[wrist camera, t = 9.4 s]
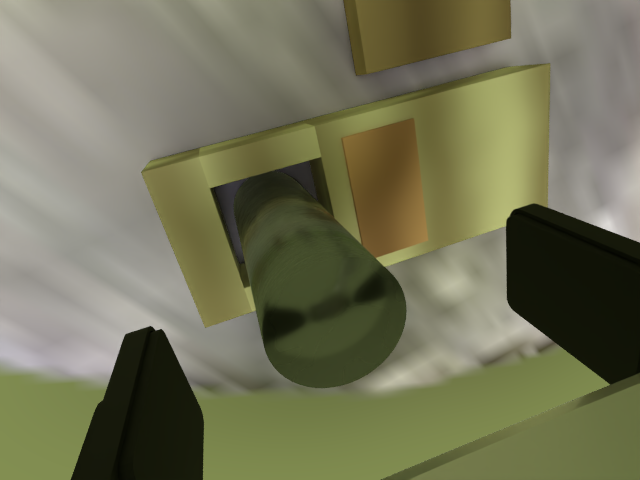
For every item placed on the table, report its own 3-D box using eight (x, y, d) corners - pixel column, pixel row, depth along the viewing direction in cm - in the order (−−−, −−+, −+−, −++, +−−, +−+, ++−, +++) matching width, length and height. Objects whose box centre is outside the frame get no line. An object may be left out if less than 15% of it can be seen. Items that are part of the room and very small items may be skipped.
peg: (297, 162, 21) (395, 236, 10) (313, 230, 22) (414, 358, 12) (223, 182, 20) (243, 286, 9) (246, 251, 22) (284, 407, 11)
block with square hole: (508, 66, 22) (553, 63, 19) (510, 199, 25) (550, 212, 22) (150, 160, 19) (140, 173, 16) (205, 298, 22) (205, 329, 19)
